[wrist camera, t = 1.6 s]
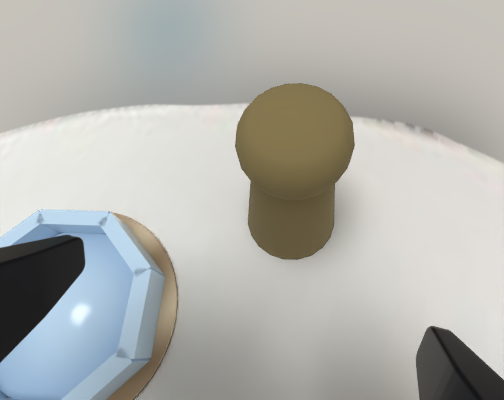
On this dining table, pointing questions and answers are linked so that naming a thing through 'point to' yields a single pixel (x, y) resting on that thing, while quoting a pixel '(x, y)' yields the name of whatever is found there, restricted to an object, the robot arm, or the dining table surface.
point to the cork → (293, 166)
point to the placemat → (167, 313)
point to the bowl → (87, 313)
